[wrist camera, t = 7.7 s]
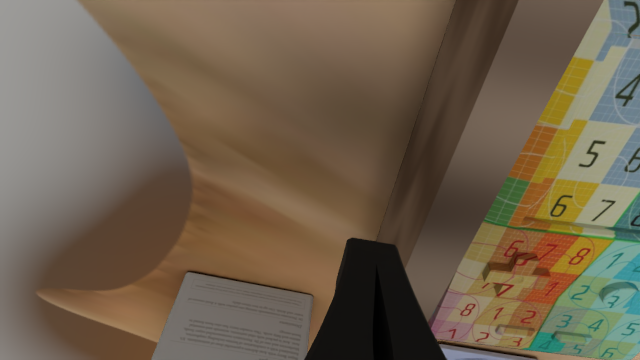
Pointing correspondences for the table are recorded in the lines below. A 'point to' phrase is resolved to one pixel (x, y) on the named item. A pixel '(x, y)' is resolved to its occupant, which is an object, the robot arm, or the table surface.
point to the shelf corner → (475, 127)
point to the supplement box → (235, 322)
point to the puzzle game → (565, 217)
